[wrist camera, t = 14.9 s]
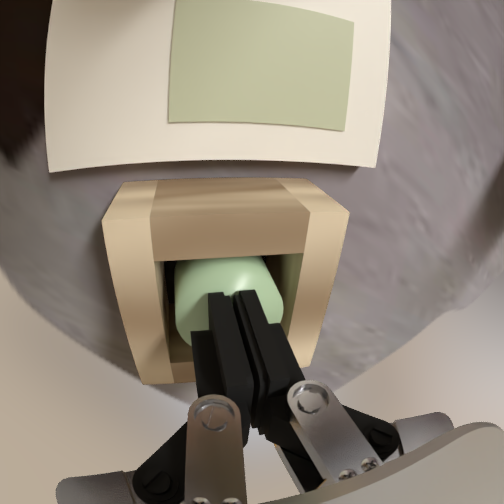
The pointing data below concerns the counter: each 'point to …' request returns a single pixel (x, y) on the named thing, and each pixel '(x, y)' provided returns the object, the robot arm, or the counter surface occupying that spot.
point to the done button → (220, 289)
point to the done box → (219, 256)
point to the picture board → (215, 81)
